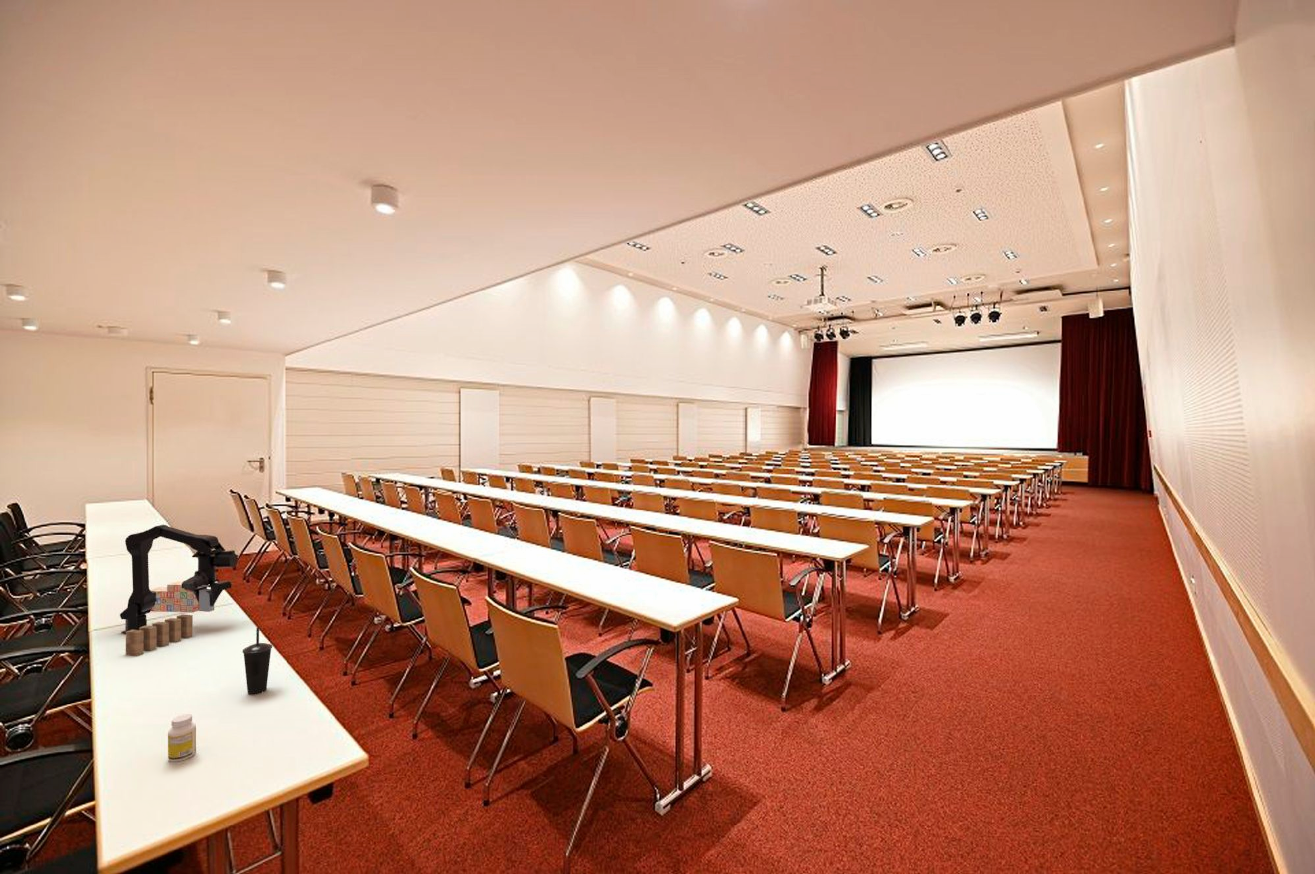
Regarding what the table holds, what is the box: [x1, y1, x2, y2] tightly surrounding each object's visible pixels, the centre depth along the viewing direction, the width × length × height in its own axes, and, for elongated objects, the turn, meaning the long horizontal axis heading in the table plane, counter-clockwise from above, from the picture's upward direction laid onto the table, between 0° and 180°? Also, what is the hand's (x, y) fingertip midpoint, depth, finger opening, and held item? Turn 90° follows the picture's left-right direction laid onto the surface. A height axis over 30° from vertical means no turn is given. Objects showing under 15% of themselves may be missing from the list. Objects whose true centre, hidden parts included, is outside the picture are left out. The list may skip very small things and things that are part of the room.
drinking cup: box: [242, 627, 273, 696], centre depth 179 cm, size 8×8×20 cm
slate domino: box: [198, 588, 215, 613], centre depth 233 cm, size 5×2×8 cm, turn 79°
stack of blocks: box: [150, 580, 199, 613], centre depth 258 cm, size 21×6×12 cm, turn 88°
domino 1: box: [125, 630, 144, 657], centre depth 207 cm, size 5×2×8 cm, turn 79°
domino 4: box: [164, 617, 182, 644], centre depth 220 cm, size 5×2×8 cm, turn 79°
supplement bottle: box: [167, 713, 197, 763], centre depth 143 cm, size 5×5×10 cm
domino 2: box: [139, 625, 157, 653], centre depth 211 cm, size 5×2×8 cm, turn 79°
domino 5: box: [176, 613, 194, 640], centre depth 224 cm, size 5×2×8 cm, turn 79°
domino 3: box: [151, 621, 170, 648], centre depth 215 cm, size 5×2×8 cm, turn 79°
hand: (206, 605), depth 233 cm, fingers closed on slate domino, 5 cm apart
